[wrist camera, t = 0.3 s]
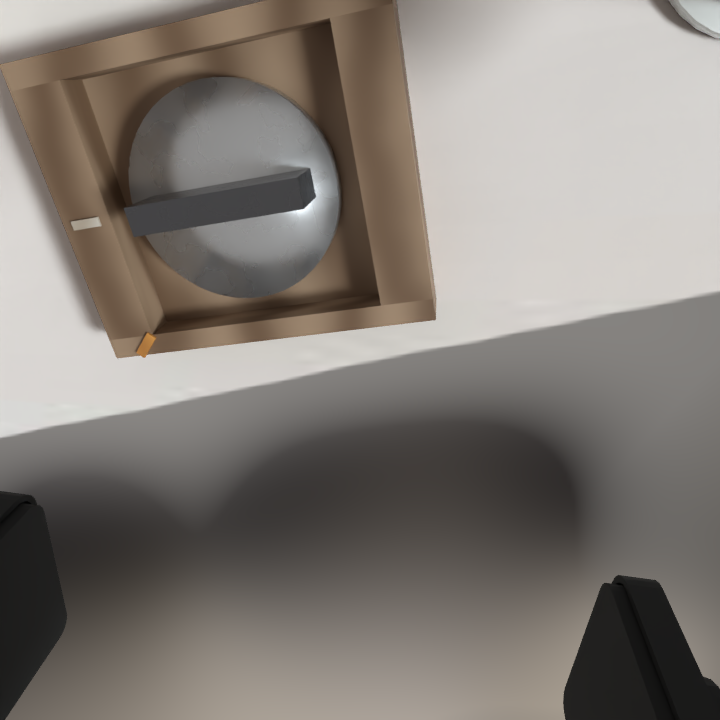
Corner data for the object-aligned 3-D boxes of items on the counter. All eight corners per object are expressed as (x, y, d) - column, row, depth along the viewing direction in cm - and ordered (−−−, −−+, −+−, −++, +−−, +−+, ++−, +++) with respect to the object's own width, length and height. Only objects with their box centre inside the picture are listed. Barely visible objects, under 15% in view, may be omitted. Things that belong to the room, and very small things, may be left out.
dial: (317, 55, 34) (297, 52, 30) (359, 277, 40) (348, 303, 36) (108, 100, 37) (61, 104, 32) (177, 302, 43) (145, 330, 38)
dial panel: (393, -19, 34) (387, -31, 30) (436, 301, 42) (436, 323, 38) (39, 65, 38) (-4, 64, 35) (142, 338, 47) (116, 361, 43)
